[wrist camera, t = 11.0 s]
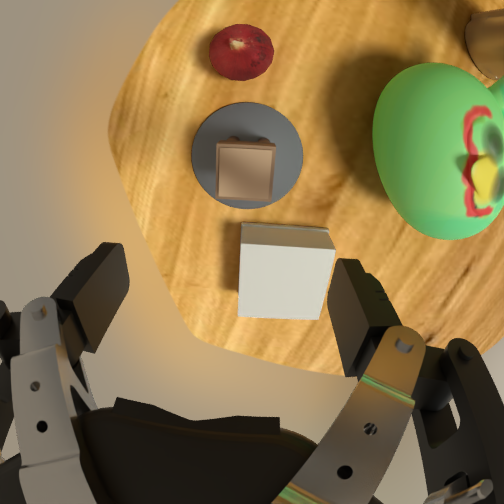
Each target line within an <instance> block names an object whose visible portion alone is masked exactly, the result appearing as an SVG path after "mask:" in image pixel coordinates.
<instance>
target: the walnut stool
mask: <svg viewBox="0 0 504 504" xmlns="http://www.w3.org/2000/svg"><path fill="white" fill-rule="evenodd" d="M275 155H276V145H275V143H270V140H269V139H267V138H264V137H263V138H260V139H259V140H258V142H252V141H240V140H239V138H238V137H236V136H230V137H229V138H228V139H227V140H220V141H219V142H218V143H217V146H216V190H215V199H231V200H249V201H264V202H271V201H272V190H273V178H274V167H275Z"/></svg>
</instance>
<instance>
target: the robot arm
mask: <svg viewBox="0 0 504 504" xmlns="http://www.w3.org/2000/svg"><path fill="white" fill-rule="evenodd" d="M465 39H466V45H467V48H468V51H469V53H470V56H471V58H472V60H473V61H474V63H475V65H476V66H477V67H478V69H479V70H480V71H481V72H482V73H483V74H484V75H485V76H487V77H488V78H490V79H494V80H499V79H500V78H501V77H502V76H503V75H504V9H497V10H491V11H485V12H480V13H475V14H471V21H470V22H469V23H468V24H467V26H466V29H465ZM128 290H129V274H128V269H127V264H126V258H125V253H124V248H123V245H122V244H120V243H109V242H103V243H101V244H100V245H99V247H98V248H97V249H96V250H95V251H94V252H93V253H92V254H90V255H88V256H87V257H85V258H84V259H82V260H81V261H80V262H79V263H78V264H77V265H76V266H75V268H74V270H72V271H71V272H70V273H69V274H68V276H67V277H66V278H65V279H64V280H63V281H62V283H61V284H60V285H59V286H58V287H57V289H56V290H55V291H54V292H53V294H52V295H51V296H50V297H40V298H36V299H34V300H32V301H30V302H29V303H28V304H27V305H26V306H25V307H24V308H23V310H22V312H12V313H10V312H9V311H8V308H7V307H6V304H5V303H4V302H3V301H1V300H0V358H1V360H2V363H1V365H0V504H383V503H382V502H381V501H380V500H378V499H377V498H376V497H375V496H374V495H373V494H374V493H375V491H376V489H377V487H378V486H379V484H380V482H381V480H382V478H383V476H384V474H385V472H386V471H387V469H388V467H389V465H390V463H391V461H392V458H393V456H394V454H395V452H396V449H397V448H398V445H399V443H400V441H401V439H402V436H403V434H404V431H405V429H406V426H407V424H408V422H409V419H410V417H411V414H412V417H413V421H414V425H415V429H416V434H417V438H418V442H419V447H420V452H421V456H422V461H423V467H424V473H425V478H426V484H427V491H428V497H427V498H426V500H425V501H424V503H423V504H504V404H503V402H502V400H501V397H500V395H499V393H498V390H497V388H496V386H495V384H494V382H493V379H492V377H491V375H490V373H489V371H488V369H487V367H486V365H485V363H484V361H483V359H482V357H481V355H480V353H479V351H478V350H477V348H476V347H475V346H474V345H473V344H472V343H470V342H469V341H467V340H465V339H462V338H454V339H452V340H451V341H450V342H449V343H448V345H447V346H446V348H445V349H441V348H436V347H431V346H426V345H425V342H424V340H423V338H422V337H421V336H420V334H418V333H417V332H416V331H415V330H413V329H411V328H409V327H406V326H403V325H402V323H401V321H400V319H399V317H398V315H397V313H396V311H395V310H394V308H393V306H392V304H391V302H390V301H389V298H388V296H387V294H386V293H385V291H384V289H383V287H382V285H381V283H380V282H379V281H378V280H377V279H376V278H375V277H374V276H373V275H372V274H370V273H366V272H365V271H364V269H363V267H362V265H361V263H360V261H359V260H358V259H345V258H338V259H337V261H336V264H335V268H334V272H333V276H332V280H331V284H330V288H329V291H328V297H327V306H328V311H329V314H330V318H331V322H332V326H333V329H334V333H335V337H336V341H337V345H338V349H339V353H340V357H341V361H342V365H343V369H344V373H345V377H356V376H357V379H358V384H357V386H356V387H355V389H354V391H353V392H352V394H351V395H350V397H349V399H348V400H347V402H346V404H345V405H344V407H343V409H342V410H341V412H340V413H339V415H338V416H337V418H336V419H335V421H334V422H333V424H332V425H331V427H330V428H329V430H328V431H327V433H326V434H325V435H324V437H323V438H322V439H321V441H320V442H319V444H318V445H317V444H316V443H314V442H313V441H312V440H310V439H308V438H306V437H305V436H303V435H301V434H298V433H296V432H293V431H290V430H287V429H283V428H280V418H279V417H252V416H232V417H225V418H217V419H209V420H199V421H193V420H188V419H186V418H183V417H181V416H178V415H176V414H173V413H171V412H168V411H166V410H163V409H161V408H159V407H157V406H154V405H150V404H146V403H141V402H137V401H132V400H127V399H123V398H119V397H117V398H116V401H115V404H114V407H108V408H100V409H98V407H97V405H96V403H95V401H94V398H93V395H92V392H91V389H90V385H89V382H88V378H87V375H86V372H85V368H84V364H83V361H82V358H81V356H80V355H81V353H82V352H83V351H86V352H90V353H95V352H96V350H97V348H98V346H99V344H100V342H101V340H102V338H103V336H104V334H105V333H106V331H107V328H108V327H109V325H110V323H111V321H112V319H113V318H114V316H115V314H116V312H117V310H118V309H119V306H120V305H121V303H122V301H123V300H124V298H125V296H126V294H127V292H128ZM452 398H453V399H454V401H455V404H456V407H457V410H458V413H459V416H460V426H459V428H458V430H457V426H456V423H455V420H454V417H453V414H452V411H451V408H450V405H449V402H450V401H451V399H452ZM13 418H14V419H15V426H16V433H17V438H18V444H19V448H20V453H18V454H16V455H15V456H13V457H12V458H10V459H8V460H5V459H4V458H3V457H1V451H2V448H3V445H4V442H5V439H6V437H7V434H8V431H9V428H10V426H11V423H12V421H13Z"/></svg>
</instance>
